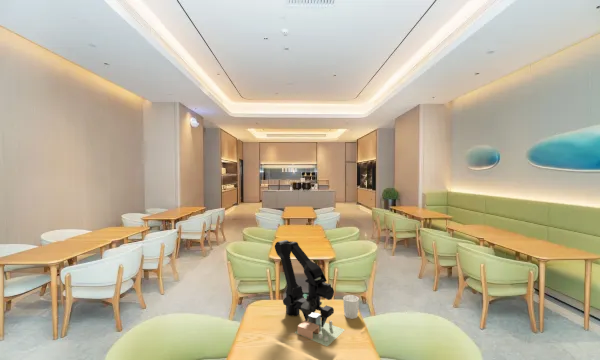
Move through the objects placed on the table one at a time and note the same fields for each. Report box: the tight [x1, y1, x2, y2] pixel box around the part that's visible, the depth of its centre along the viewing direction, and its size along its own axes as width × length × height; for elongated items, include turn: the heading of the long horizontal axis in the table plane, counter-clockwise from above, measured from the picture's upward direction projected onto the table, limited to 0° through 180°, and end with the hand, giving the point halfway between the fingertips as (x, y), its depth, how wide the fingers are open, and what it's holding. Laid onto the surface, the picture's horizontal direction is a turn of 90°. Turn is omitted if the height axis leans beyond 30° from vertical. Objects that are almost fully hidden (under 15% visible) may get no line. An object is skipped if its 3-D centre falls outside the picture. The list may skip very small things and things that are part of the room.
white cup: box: [342, 294, 360, 320], centre depth 154 cm, size 8×8×10 cm
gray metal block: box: [308, 311, 321, 325], centre depth 144 cm, size 4×4×5 cm
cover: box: [297, 319, 319, 340], centre depth 137 cm, size 8×6×4 cm
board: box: [294, 320, 346, 347], centre depth 139 cm, size 18×16×4 cm
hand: (314, 324), depth 145 cm, fingers open, 9 cm apart
